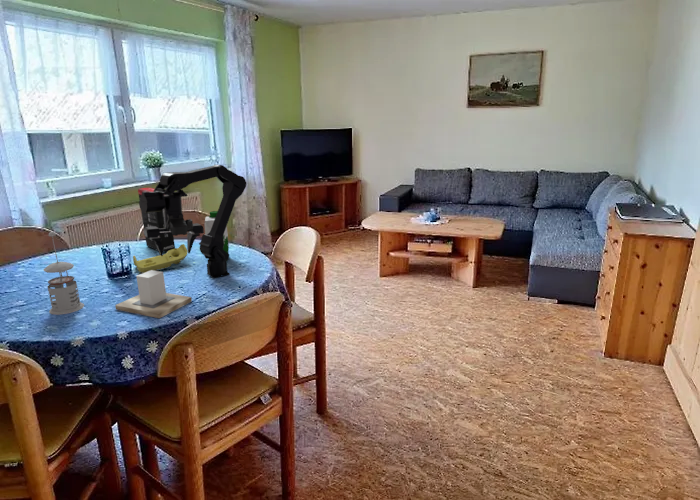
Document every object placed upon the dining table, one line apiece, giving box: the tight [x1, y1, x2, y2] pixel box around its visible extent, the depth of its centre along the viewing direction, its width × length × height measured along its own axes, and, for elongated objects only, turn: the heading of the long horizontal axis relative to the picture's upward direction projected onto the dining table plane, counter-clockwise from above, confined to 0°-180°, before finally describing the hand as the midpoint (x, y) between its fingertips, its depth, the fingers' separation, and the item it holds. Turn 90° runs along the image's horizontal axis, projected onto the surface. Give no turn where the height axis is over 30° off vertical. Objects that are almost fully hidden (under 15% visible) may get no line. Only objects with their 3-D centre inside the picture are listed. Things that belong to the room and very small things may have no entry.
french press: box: [43, 231, 85, 316], centre depth 146 cm, size 10×12×25 cm
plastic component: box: [132, 243, 189, 274], centre depth 189 cm, size 20×7×10 cm
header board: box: [114, 292, 193, 319], centre depth 149 cm, size 14×18×5 cm
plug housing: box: [136, 270, 167, 305], centre depth 148 cm, size 6×5×9 cm
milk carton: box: [203, 210, 230, 262], centre depth 193 cm, size 9×9×20 cm
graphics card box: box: [137, 187, 176, 253], centre depth 210 cm, size 17×7×27 cm, turn 46°
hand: (175, 254), depth 163 cm, fingers open, 9 cm apart
